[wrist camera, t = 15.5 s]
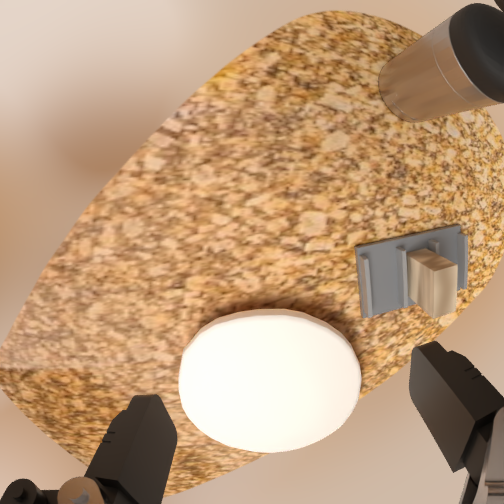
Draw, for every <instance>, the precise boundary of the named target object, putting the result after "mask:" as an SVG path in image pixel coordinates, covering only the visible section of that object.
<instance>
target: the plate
mask: <svg viewBox="0 0 504 504" xmlns="http://www.w3.org/2000/svg"><path fill="white" fill-rule="evenodd" d="M360 385H361V371H360V363H359V361H358V359H357V357H356V354H355V352H354V350H353V348H352V346H351V344H350V343H349V341H348V340H347V339H346V338H345V337H344V336H343V334H342V333H341V332H339V331H338V330H336V329H335V328H334V327H332V326H331V325H329V324H328V323H327V322H325V321H322V320H320V319H318V318H315V317H313V316H311V315H308V314H306V313H304V312H299V311H294V310H289V309H255V310H249V311H242V312H237V313H233V314H230V315H226V316H223V317H219V318H217V319H215V320H213V321H212V322H210V323H208V324H207V325H205V326H204V327H202V328H201V329H200V330H199V331H198V332H197V333H196V335H195V336H194V337H193V338H192V339H191V341H190V342H189V343H188V344H187V345H186V347H185V348H184V350H183V355H182V360H181V365H180V371H179V394H180V398H181V403H182V407H183V409H184V411H185V413H186V415H187V416H188V418H189V419H190V420H191V421H192V422H193V423H194V424H195V425H196V427H197V428H198V429H199V430H201V431H202V432H203V433H205V434H206V435H208V436H209V437H211V438H212V439H214V440H216V441H219V442H221V443H223V444H225V445H227V446H230V447H235V448H239V449H244V450H248V451H253V452H267V453H272V452H282V451H289V450H294V449H298V448H302V447H305V446H307V445H310V444H312V443H315V442H317V441H319V440H321V439H323V438H325V437H326V436H328V435H330V434H331V433H333V432H334V431H335V430H337V429H338V428H339V427H341V426H342V425H343V424H344V422H345V421H346V420H347V418H348V417H349V416H350V414H351V413H352V411H353V410H354V408H355V406H356V403H357V401H358V398H359V392H360Z"/></svg>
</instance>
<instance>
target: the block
mask: <svg viewBox="0 0 504 504" xmlns="http://www.w3.org/2000/svg"><path fill="white" fill-rule="evenodd" d="M406 259H407V283H408V297H410V298H411V299H412V300H413V301H414V302H415V303H416V304H417V305H418V306H420V307H421V308H422V309H423V310H424V311H425V312H426V313H427V314H428V315H429V316H431V317H432V318H433V319H434V318H437V317H440V316H443V315H446V314H449V313H452V312H454V311H456V298H457V272H458V265H457V264H455V263H453V262H451V261H449V260H448V259H446V258H444V257H442V256H440V255H438V254H436V253H434V252H432V251H430V250H428V249H426V248H424V249H420V250H416V251H412V252H407V253H406Z"/></svg>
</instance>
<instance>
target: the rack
mask: <svg viewBox="0 0 504 504" xmlns="http://www.w3.org/2000/svg"><path fill="white" fill-rule="evenodd" d="M354 247H355V256H356V264H357V274H358V284H359V296H360V308H361V316H362V317H363V318H366V317H368V318H370V317H373V316H374V315H377V314H381V313H385V312H389V311H392V310H396V309H399V308H407V307H408V306H410V305H413V304H416V303H415V302H414V301H413V300H412V299H411V298H410V297H408V283H407V259H406V253H407V252H412V251H416V250H420V249H424V248H426V249H428V250H430V251H432V252H434V253H436V254H438V255H440V256H442V257H444V258H446V259H448V260H449V261H451V262H453V263H455V264H457V265H458V272H457V291H458V290H460V287H461V288H462V289H467V273H468V235H465V234H463V233H461V231H460V225H457V224H455V225H451V226H447V227H442V228H438V229H433V230H429V231H424V232H419V233H415V234H410V235H406V236H401V237H396V238H392V239H387V240H382V241H378V242H373V243H368V244H364V245H359V246H354Z"/></svg>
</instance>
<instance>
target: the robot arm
mask: <svg viewBox="0 0 504 504" xmlns="http://www.w3.org/2000/svg"><path fill="white" fill-rule="evenodd" d="M494 1H495V2H496V4H497V5H498V6H499V8H500V9H501V10H502V11H503V12H504V0H494ZM503 12H501V11H500V10H498V9H496V8H494V7H491V6H489V5H485V4H481V3H474V4H470V5H468V6H465V7H464V8H462V9H461V10H459V11H458V12H456V13H455V14H454V15H452V16H451V17H449V18H448V19H447V20H445V21H444V22H442V23H441V24H440V25H438V26H437V27H435V28H434V29H433V30H431V31H430V32H428V33H427V34H426V35H424V36H423V37H422V38H420V39H419V40H417V41H416V42H415V43H413V44H412V45H411V46H409V47H408V48H407V49H405V50H404V51H403V52H401V53H400V54H398V55H397V56H396V57H394V58H393V59H392V60H391V61H389V62H388V63H387V64H386V65H385V66H384V67H383V68H382V70H381V72H380V75H379V90H380V93H381V96H382V99H383V100H384V102H385V104H386V105H387V106H388V108H389V109H390V110H391V111H392V112H393V113H394V114H395V115H396V116H398V117H400V118H401V119H403V120H406V121H408V122H422V121H426V120H430V119H434V118H439V117H443V116H447V115H451V114H455V113H459V112H464V111H468V110H473V109H477V108H482V107H487V106H491V105H496V104H501V103H504V13H503ZM409 391H410V396H411V399H412V401H413V403H414V405H415V407H416V408H417V410H418V411H419V413H420V414H421V417H422V418H423V420H424V422H425V423H426V425H427V427H428V429H429V430H430V432H431V434H432V435H433V437H434V439H435V441H436V443H437V444H438V446H439V448H440V450H441V451H442V453H443V455H444V457H445V459H446V460H447V462H448V464H449V466H450V468H451V470H452V471H453V473H454V472H456V471H458V470H460V469H462V468H464V467H466V469H467V471H468V472H469V473H468V475H467V477H466V481H465V484H464V488H463V492H462V495H461V498H460V502H459V504H504V397H503V396H502V395H501V394H500V393H499V392H498V391H497V390H496V389H495V387H494V386H493V385H492V384H491V383H490V382H489V381H488V380H487V379H486V378H485V377H484V376H482V375H481V373H480V371H479V370H478V369H477V368H474V365H473V364H472V363H471V362H470V361H469V360H468V359H467V358H466V357H465V356H463V355H461V354H459V353H456V352H454V351H449V352H447V351H446V350H445V349H444V348H443V347H442V346H441V345H440V344H439V343H438V342H437V341H432V342H429V343H426V344H423V345H421V346H418V347H415V348H413V350H412V356H411V370H410V380H409ZM176 445H177V431H176V428H175V426H174V424H173V422H172V420H171V418H170V416H169V414H168V412H167V410H166V408H165V406H164V404H163V402H162V400H161V398H160V397H159V396H158V395H156V394H155V395H135V396H134V397H133V398H132V400H131V402H130V404H129V406H128V408H127V410H122V411H121V412H120V413H119V414H118V415H117V416H116V417H115V418H114V419H113V420H112V422H111V424H110V426H109V428H108V430H107V434H105V435H104V437H103V439H102V443H100V445H99V447H98V449H97V451H96V453H95V455H94V457H93V459H92V461H91V463H90V465H89V467H88V469H87V471H86V474H85V475H84V477H76V478H72V479H70V480H68V481H67V482H65V483H64V484H63V485H62V486H61V488H60V490H40V489H39V488H38V487H37V486H36V485H35V484H34V483H33V482H32V481H30V480H28V479H18V480H16V481H14V482H12V483H11V484H10V485H9V486H8V487H7V489H6V491H5V493H4V494H3V496H2V498H1V500H0V504H161V501H162V498H163V494H164V490H165V487H166V483H167V479H168V475H169V471H170V467H171V464H172V460H173V456H174V452H175V449H176Z"/></svg>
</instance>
